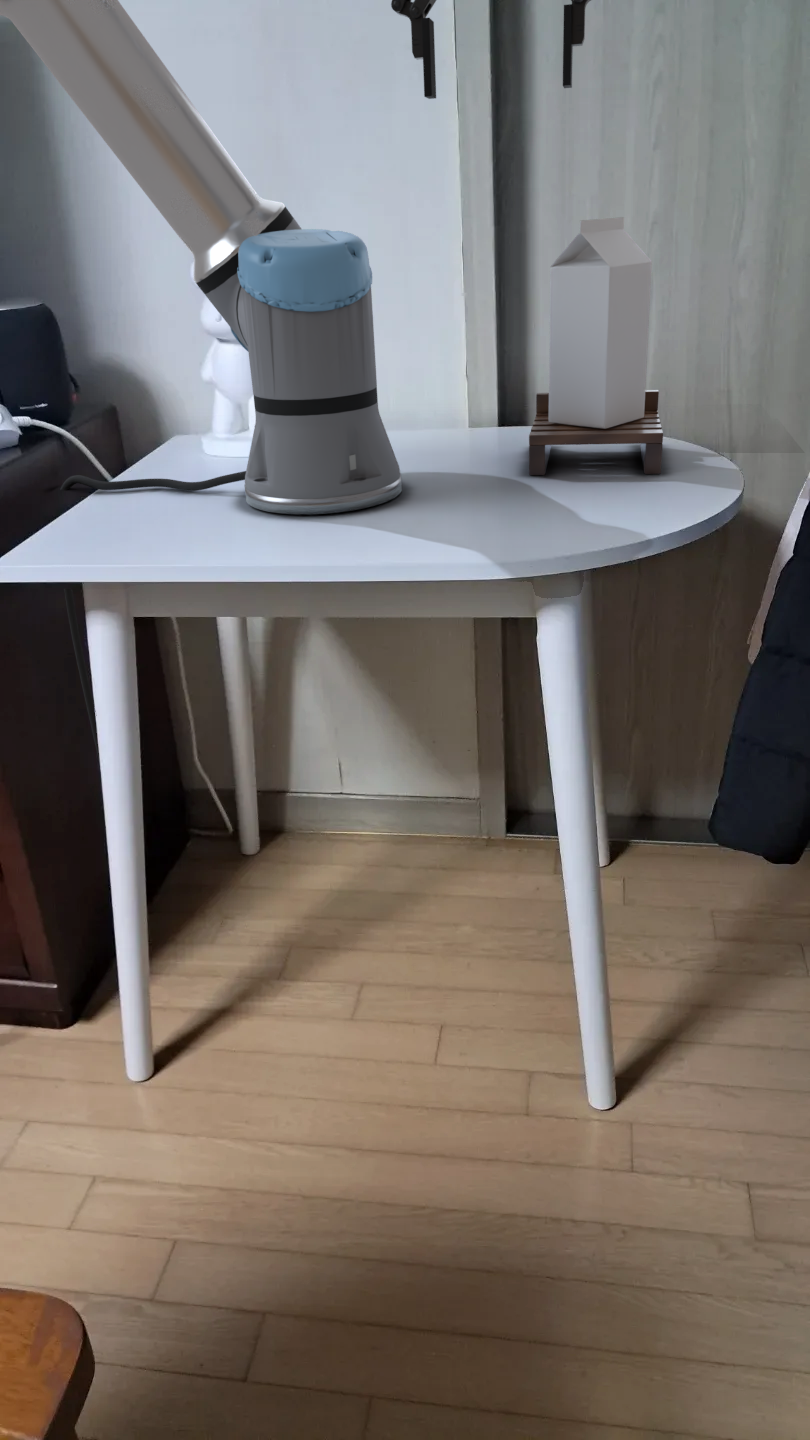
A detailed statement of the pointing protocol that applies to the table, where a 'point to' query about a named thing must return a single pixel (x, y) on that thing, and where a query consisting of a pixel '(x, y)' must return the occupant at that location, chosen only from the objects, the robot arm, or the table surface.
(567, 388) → the milk carton
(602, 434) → the wooden bench
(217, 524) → the table surface
